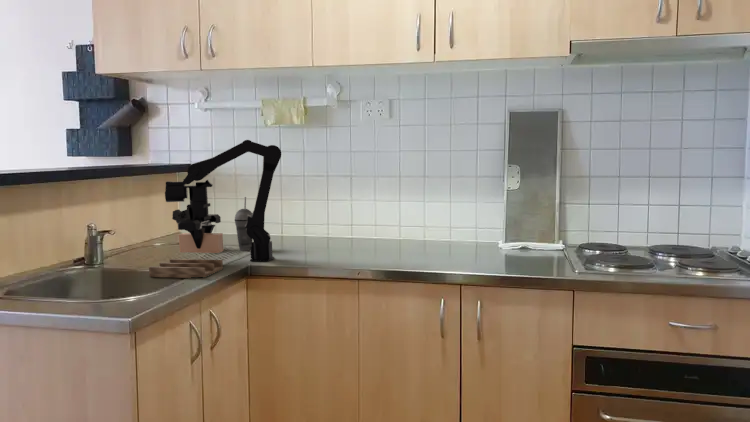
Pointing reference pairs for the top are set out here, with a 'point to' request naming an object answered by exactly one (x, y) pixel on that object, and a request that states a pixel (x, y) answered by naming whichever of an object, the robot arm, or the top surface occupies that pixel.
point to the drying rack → (186, 268)
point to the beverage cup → (243, 228)
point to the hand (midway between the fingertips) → (201, 247)
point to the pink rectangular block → (209, 243)
